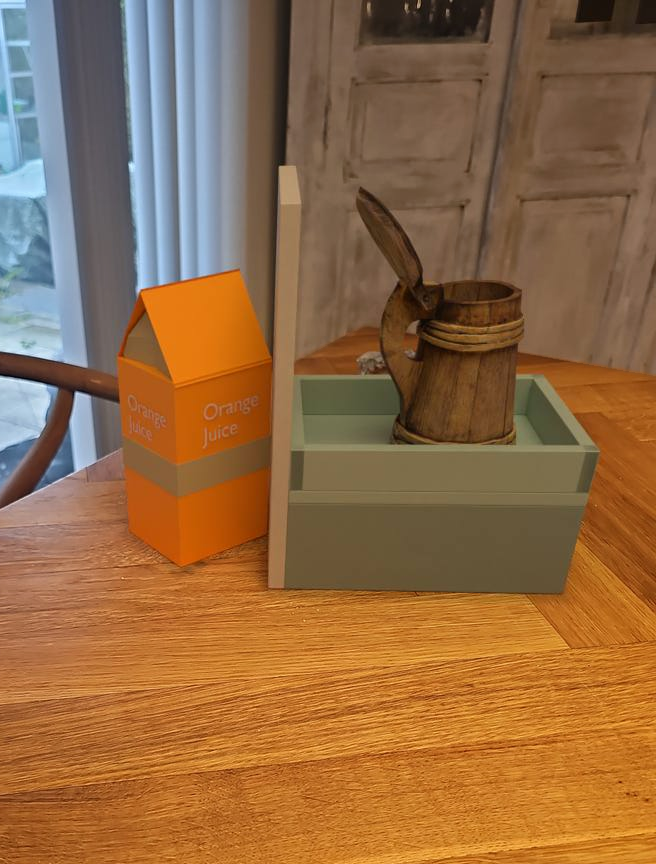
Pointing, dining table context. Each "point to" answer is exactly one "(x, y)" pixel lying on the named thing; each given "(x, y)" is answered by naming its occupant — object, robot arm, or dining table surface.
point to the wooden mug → (446, 346)
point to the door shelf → (410, 477)
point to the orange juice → (195, 417)
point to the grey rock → (376, 363)
